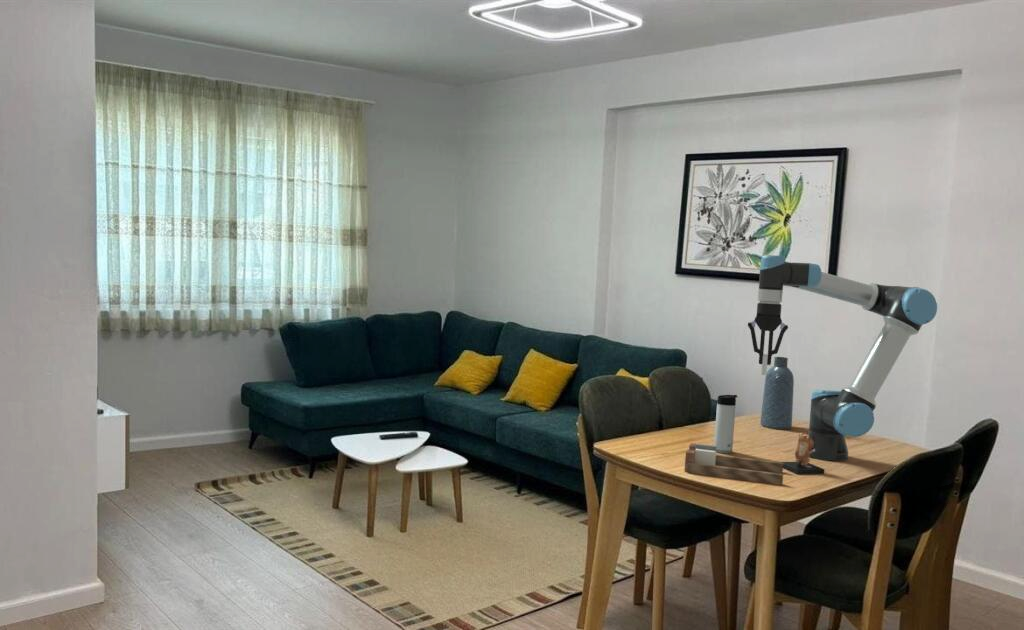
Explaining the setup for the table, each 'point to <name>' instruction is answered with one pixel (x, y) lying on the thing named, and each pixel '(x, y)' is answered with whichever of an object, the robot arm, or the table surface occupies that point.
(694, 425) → the table surface
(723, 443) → the travel mug
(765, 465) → the guide
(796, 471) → the figurine
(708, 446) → the block
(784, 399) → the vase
